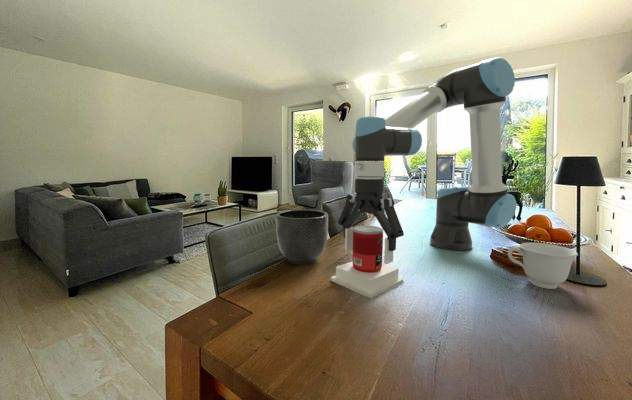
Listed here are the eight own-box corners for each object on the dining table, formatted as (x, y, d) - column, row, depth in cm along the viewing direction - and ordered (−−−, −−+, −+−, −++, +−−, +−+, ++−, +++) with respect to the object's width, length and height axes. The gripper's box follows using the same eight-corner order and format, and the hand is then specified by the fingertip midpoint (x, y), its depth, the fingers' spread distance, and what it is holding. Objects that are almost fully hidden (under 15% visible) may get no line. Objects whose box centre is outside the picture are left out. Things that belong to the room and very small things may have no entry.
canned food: (382, 274, 74) (383, 232, 72) (351, 271, 75) (352, 231, 74) (381, 263, 81) (382, 226, 80) (353, 262, 83) (354, 224, 81)
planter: (338, 264, 92) (338, 215, 90) (289, 274, 84) (288, 221, 82) (312, 249, 107) (312, 207, 105) (268, 257, 99) (267, 211, 97)
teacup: (499, 272, 85) (501, 239, 84) (559, 278, 81) (563, 244, 80) (513, 289, 74) (516, 252, 73) (584, 297, 69) (589, 258, 68)
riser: (363, 268, 89) (363, 256, 88) (403, 282, 78) (403, 268, 78) (330, 280, 80) (330, 266, 79) (370, 298, 69) (371, 282, 69)
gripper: (326, 176, 82) (326, 248, 85) (402, 180, 63) (399, 272, 66) (344, 175, 87) (343, 243, 90) (420, 179, 68) (416, 265, 71)
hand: (367, 256), depth 78 cm, fingers open, 13 cm apart
